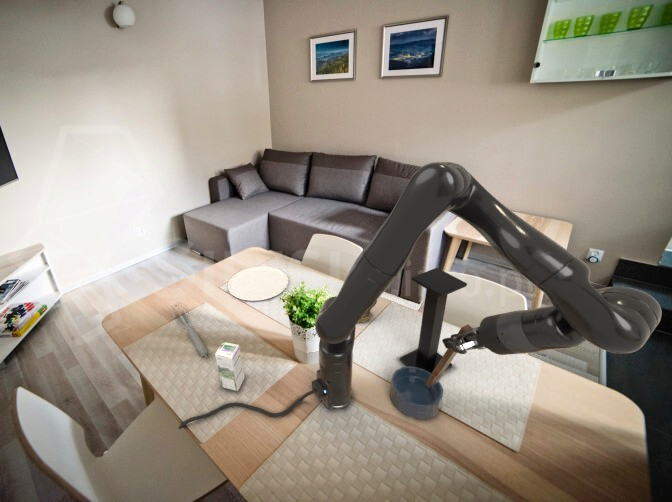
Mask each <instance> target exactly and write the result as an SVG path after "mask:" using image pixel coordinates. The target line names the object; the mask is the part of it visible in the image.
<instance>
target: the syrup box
mask: <svg viewBox="0 0 672 502" xmlns="http://www.w3.org/2000/svg"><path fill="white" fill-rule="evenodd" d="M241 355H242V354H241V348H240V344H235V343H232V342H231V343H230V342H225V341H222V342H221V344H220V345H219V346H218V349H217V350H216V352H215V353H214V357H215V360H216V366H217V370H218V376H219V381H220V384H221V388H222V389H226V390H230V391H234V392H238V391H239V390H240V388H241V386H242V383H243V382H244V380H245V373H244V368H243V360H242V356H241Z"/></svg>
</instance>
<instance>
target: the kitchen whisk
mask: <svg viewBox="0 0 672 502" xmlns="http://www.w3.org/2000/svg"><path fill="white" fill-rule="evenodd" d="M179 304H180V307H182V309H186V310H183V311H184V314H185V315H184V314H183V313H182V311H181V309H180V308H179ZM182 304H183V303H182V302H181V303H180V302H179V301H178V302H177V304H173V305H172V306H171V308H170V311H171V315H172V316H173V317H176V316H178V314H177V313H175V314H176V316H175V314H174V312H173V311H174V309H175V310H176V312H178V313H179V315H180V317H181V319H182V320H183V321H184V323H181V320H180V319H178V323H181V324H180V326H181V327H182V328H183V329H184V330H185V329H186V332H187V334H188V336H189V338H190V340H191V341H192V343H193V345H194V346H195V347H196V349H197V352H198V353H199V355H200V356H201V357H205V358H206V359H208V355H207V354H208V349H207V348H206V346H205V343H203V341H202V339H201V338H200V336H199V334H198V333H197V331H196V329H195V328H194V327H193V325H192V324H191V323H190V322H192V319H191V314H190V311H189V310H188V307H187V305H185V304H184V306H183V305H182ZM178 310H179V311H180V312H179V311H178ZM186 312H187V313H186ZM181 314H182V315H181ZM187 314H188V317H189V319H188V317H187ZM185 316H186V317H185ZM183 317H185V318H186V319H185V318H183ZM184 319H185V320H184ZM189 320H190V321H189ZM185 321H186V322H185Z"/></svg>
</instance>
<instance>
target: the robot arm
mask: <svg viewBox="0 0 672 502" xmlns="http://www.w3.org/2000/svg"><path fill="white" fill-rule="evenodd" d="M446 211H447V212H449V213H451V214H453V215H454V216H457V217H458V218H460V219H461V220H463V221H465V222H466V223H467V224H469V225H470V226H471V227H472V228H474V229H475V230H476V231H477V232H478V233H479V234H480V235H481V236H482V237H483V238H484V239H485V240H486V242H487V243H488V244H489V245H490V246H491V247H492V249H493V250H494V251H495V252H496V253H497V254H498V255H499V257H500V258H501V259H502V260H503V261H504V262H505V263H506V264H507V265H509V266H510V267H511V268H512V269H513V270H514V271H516V272H517V273H518V274H519V275H520V276H522V277H523V278H524V279H525V280H527V282H529V283H531V285H533V286H534V287H535V288H537V289H538V290H539V291H541V292H542V293H544V295H545V296H546V298H548V300H549V302H550V303H551V304H552V305H546V306H545V305H544V306H540V307H536V308H529V309H519V310H514V311H512V310H511V311H507V312H503V313H499V314H493V315H488V316H486V317H484V318H483V319H482V320H481V321H480V323H479V326H475V327H472V328H473V330H471V331H469V332H465V333H462V334H460V335H459V336H456V335H457V334H458V333H453V334H451V335H450V337H444V338H442V339H441V341H442V343H443V346H444V347H445V349H446V350H447V349H449V348H452V349H453V351H454V352H456V353H457V354H459V355H466V354H467V353H468V351H471V350H479V351H481V350H486V349H487V350H489V351H490V352H492V353H493V354H495V355H498V356H506V355H507V356H508V355H509V356H510V355H521V354H535V353H539V352H544V351H553V350H554V351H555V350H567V349H573V348H577V347H579V346H580V345H582V344H583V343H586V342H587V343H589V344H591V345H592V346H594V347H597V348H599V349H601V350H603V351H606V352H609V353H613V354H619V355H626V354H632V353H635V352H638V351H639V350H640V349H641V348H643V346H645V344H646V343H647V341H648V340H649V338H650V336H651V335H652V333H654V330H656V328H657V327H658V325H659V324H660V322H661V319H662V315H663V314H662V313H663V312H662V311H663V310H662V308H661V305H660V303H659V302H658V301H657V300H656V298H654V297H653V296H652V295H650V294H649V293H647V292H646V291H643V290H641V289H637V288H634V287H629V286H608V287H602V288H597V289H596V288H595V287H594V286H593V285H592V284H591V281H590V278H591V269H590V267H589V266H588V265H587V264H586V262H584V261H583V259H580V258H579V257H578V256H577V255H576V254H573V253H572V252H570V251H569V250H568V249H566V247H564V246H562V245H561V244H559V243H558V242H556V241H555V240H553V239H552V238H550V237H549V236H548V235H546V234H545V233H544V232H541V231H540V230H539V229H537V228H536V227H535V226H533V225H531V224H530V223H528V222H527V221H526V220H524V219H523V218H522V217H520V216H519V215H517V214H516V213H515V212H513V211H512V210H511V209H509V208H508V207H507V206H505V205H504V204H503V203H501V202H500V200H498V199H497V198H496V197H495V196H493V194H491V193H490V192H489V191H488V190H487V189H486V188H485V187H484V186H483V185H482V184H481V183H480V182H479V181H478V180H477V179H476V178H475V176H473V175H472V173H470V172H469V171H468V170H467V169H466V168H465V167H464V166H463V165H461V164H458V163H456V162H450V161H434V162H429V163H426V164H424V165H422V166H420V167H419V168H418V169H417V170H415V172H414V173H413V174H412V176H411V177H410V178H409V180H408V182H407V184H406V185H405V187H404V189H403V191H402V192H401V194H400V196H399V198H398V200H397V202H396V203H395V204H394V207H393V209H392V210H391V212H390V214H388V217H387V218H386V219H385V220H384V222H383V223H382V224H381V226H380V227H379V228H378V229H377V231H376V232H375V233H374V235H373V236H372V238H371V239H370V240H369V242H368V243H367V244H366V246H365V247H364V248H363V249H362V251H361V253H360V254H359V255H358V256H357V258H356V260H355V261H354V262H353V264H352V266H351V268H350V270H349V272H348V274H347V275H346V277H345V279H344V282H343V284H342V285H341V287H340V290H339V292H338V294H337V295H336V296H330V297H329V298H327V299H326V300H325V301H324V302H323V303H322V305H321V307H320V309H319V311H318V314H317V315H316V318H315V323H314V328H315V329H314V330H315V332H316V335H317V337H318V338H319V341H318V367H319V368H318V369H317V370H316V379H314V380H311V382H310V383H311V390H309V391H307V392H306V393H304V394H303V395H301V397H299V398H298V399H297V400H296V401H295V402H293V403H292V404H291V405H290V406H289V407H288V408H287V409H285V410H284V411H281V412H270V411H267V410H266V409H263V408H261V407H258V406H254V405H253V406H252V405H249V404H248V403H247V404H246V403H243V402H228V403H225V404H223V405H221V406H219V407H217V408H215V409H213V410H211V411H209V412H206V413H204V414H200V415H196V416H193V417H189V418H188V419H186V420H184V421H183V422H181V423H180V425H179V426H178V429H179V430H182V429H183V428H184V427H185V426H186V425H188V424H190V423H192V422H195V421H198V420H203V419H207V418H208V417H211V416H213V415H215V414H217V413H218V412H220V411H222V410H224V409H226V408H230V407H241V408H245V409H248V410H252V411H256V412H259V413H261V414H264V415H266V416H269V417H273V418H278V417H283V416H285V415H287V414H288V413H290V412H292V410H294V409H295V407H297V406H298V405H299V404H300V403H302V401H303V400H305V399H306V398H308V397H309V396H312V395H313V394H315V396H316V397H317V399H319V400H321V401H322V402H323V404H324V405H325V407H326V408H327V409H328V410H330V409H343V408H346V407H347V406H348V405H349V404H350V403H351V401H352V397H353V394H352V393H353V392H352V388H353V387H352V386H353V360H354V359H353V358H354V357H353V356H354V345H355V339H356V326H357V324H358V323H359V322H358V321H359V319H360V318H361V317H362V315H363V314H364V313H365V312H366V310H367V309H368V308H369V307H370V306H371V305H372V304H373V303H374V302H375V301H376V300H377V301H378V300H379V298H381V296H382V295H383V294H384V292H386V290H387V289H388V288H389V287H390V286H391V285H392V284H393V282H394V281H395V280H396V279H397V278H398V277H399V275H400V274H401V273H402V272H403V270H404V269H405V268H406V266H407V264H408V262H409V260H410V258H411V255H412V253H413V250H414V248H415V246H416V243H417V241H418V240H419V238H421V236H422V235H423V233H425V231H426V230H427V229H428V228H429V227H430V226H431V224H433V222H435V221H436V220H437V219H438V218H439V217H440V216H441V215H442V214H443V213H445V212H446ZM575 255H576V256H575ZM459 339H460V340H459Z"/></svg>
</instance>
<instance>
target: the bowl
mask: <svg viewBox="0 0 672 502" xmlns="http://www.w3.org/2000/svg"><path fill="white" fill-rule="evenodd" d="M430 375H431V373H430V372H428V371H426V370H424V369H421V368H418V367H412V366H401V367H400V368H397V369H396V370H395V371H394V372H393V373H392V376H391V380H390V390H389V392H390V393H389V394H390V398H391V400H392V402H393V404H394V406H395V407H396V408H397V409H398V410H399V411H400V412H402V413H403V414H405V415H406V416H407V417H408V416H409V417H411V418H414V419H418V420H427V419H432V418H434V417H435V416H437V415H438V413H439V412H440V411H441V407H442V402H443V397H444V389H443V385H442V383H441V382H440V381H439V382H438V383H436V384H434V385H432V386H431V387H427V386H426V385H425V384H426V381H427V380H428V378H429V377H430Z"/></svg>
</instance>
